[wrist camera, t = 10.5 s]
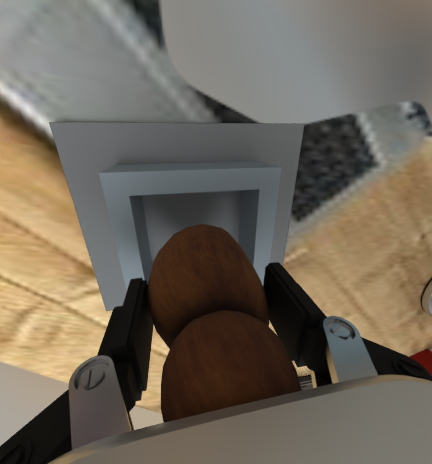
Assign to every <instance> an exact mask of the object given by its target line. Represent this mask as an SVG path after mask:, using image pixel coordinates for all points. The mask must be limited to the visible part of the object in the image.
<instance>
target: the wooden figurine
mask: <svg viewBox="0 0 432 464" xmlns="http://www.w3.org/2000/svg"><path fill="white" fill-rule="evenodd" d="M147 305H148V309H149V312H150V316H151V318H152V321H153V324H154V326H155V329H156V331H157V333H158V334H159V335H160V337H161V338H162V339H163V341H164V342H165V343H166V344H167V346H168V347H169V349H170V351H169V353H168V356H167V358H166V361H165V363H164V366H163V372H162V381H161V411H162V416H163V421H164V423H165V422H169V421H173V420H178V419H182V418H186V417H190V416H195V415H199V414H203V413H207V412H211V411H216V410H220V409H224V408H228V407H233V406H237V405H241V404H246V403H250V402H254V401H259V400H263V399H267V398H272V397H276V396H280V395H285V394H289V393H294V392H298V391H302V389H301V385H300V382H299V379H298V375H297V372H296V369H295V367H294V365H293V363H292V361H291V359H290V357H289V355H288V352H287V350H286V349H285V347H284V345H283V343H282V342H281V340H280V338H279V337H278V336H277V335H276V334H275V333H274V332H273V331H272V330H271V329H270V328H269V327H268V326H269V307H268V302H267V296H266V293H265V290H264V288H263V285H262V283H261V280H260V278H259V276H258V274H257V272H256V270H255V269H254V267H253V265H252V264H251V262H250V260H249V259H248V257H247V255H246V254H245V252H244V251H243V249H242V248H241V246H240V245H239V244H238V243H237V241H236V240H235V239H234V238H233V237H232V236H231V235H230V234H229V232H227V231H226V230H224V229H223V228H220V227H216V226H211V225H206V224H199V225H195V226H190V227H187V228H185V229H183V230H181V231H179V232H177V233H175V234H173V236H172V237H171V238H170V239H169V240H168V241H167V242H166V243H165V245H164V246H163V247H162V248H161V249H160V250H159V251H158V253H157V255H156V257H155V259H154V263H153V266H152V270H151V273H150V276H149V281H148V286H147Z"/></svg>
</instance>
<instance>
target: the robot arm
mask: <svg viewBox="0 0 432 464" xmlns="http://www.w3.org/2000/svg"><path fill="white" fill-rule="evenodd" d="M147 286H148V285H147V280H143V278H135V279H131V280H130V283H129V286H128V289H127V293H126V296H125V299H124V303H123V306H117V307H115V308H114V309H113V312H112V315H111V317H110V320H109V323H108V326H107V329H106V332H105V335H104V337H103V340H102V343H101V346H100V349H99V352H98V355H97V356H95V357H92V358H90V359H88V360H86V361H85V362H83V363H82V364H81V365H80V366H79V367H78V368H77V369H76V370H75V371H74V373H73V374H72V376H71V378H70V381H69V389H68V390H67V391H66V392H65V393H64V394H62V395H61V396H60V397H59V398H57V399H56V400H55V401H54V402H53V403H52V404H50V405H49V406H48V407H47V408H46V409H44V410H43V411H42V412H41V413H40V414H38V415H37V416H36V417H35V418H34V419H32V420H31V421H30V422H29V423H28V424H26V425H25V426H24V427H23V428H22V429H21V430H19V431H18V432H17V433H16V434H14V435H13V436H12V437H11V438H10V439H9V440H7V441H6V442H5V443H4V444H2V445H1V446H0V464H432V375H431V374H430V373H429V372H428V371H427V369H425V368H424V367H423V366H422V365H421V364H420V363H418V362H417V361H415V360H414V359H412V358H410V357H408V356H405V355H403V354H401V353H398V352H396V351H393V350H391V349H389V348H386V347H384V346H381V345H379V344H376V343H374V342H372V341H369V340H367V339H364V338H362V337H361V336H360V333H359V331H358V330H357V328H356V327H355V326H354V325H353V324H352V323H350V322H349V321H347V320H345V319H343V318H340V317H337V316H330V317H326V316H325V314H324V313H323V312H322V311H321V310H320V309H319V307H318V306H317V305H316V304H315V303H314V302H313V300H312V299H311V298H310V297H309V296H308V295H307V293H306V292H305V291H304V290H303V289H302V288H301V286H300V285H299V284H298V283H296V282H295V280H294V279H293V278H292V277H291V276H290V274H289V273H288V272H287V271H286V270H285V269H284V267H283V266H282V265H281V264H280V263H279V262H274V263H269V264H268V266H266V267H265V274H264V283H263V288H264V290H265V293H266V296H267V302H268V307H269V320H270V322H271V324H272V326H273V327H274V329H275V331H276V333H277V335H278V337H279V338H280V340H281V342H282V343H283V345H284V347H285V349H286V350H287V352H288V355H289V357H290V359H291V360H292V361H293V360H294V361H295V363H296V365H297V367H302V366H307V367H308V369H310V371H311V377H312V384H313V388H311V389H307V390H303V391H298V392H294V393H289V394H285V395H280V396H276V397H272V398H267V399H263V400H259V401H254V402H250V403H246V404H241V405H237V406H233V407H228V408H224V409H220V410H216V411H211V412H207V413H203V414H199V415H195V416H190V417H186V418H182V419H178V420H173V421H169V422H165V423H161V424H157V425H153V426H149V427H145V428H142V429H137V430H134V427H133V423H132V420H131V416H130V413H129V412H130V410H131V409H132V408H133V407H134V406H135V403H136V401H140V400H141V395H142V391H146V388H147V380H148V371H149V361H150V352H151V342H152V333H153V321H152V318H151V316H150V312H149V309H148V305H147ZM422 307H423V309H424V310H425V311H426V312H427V313H428V314H430V315H431V316H432V281H431V282H430V283H429V285H428V286H427V288H426V290H425V292H424V295H423V298H422Z"/></svg>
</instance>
